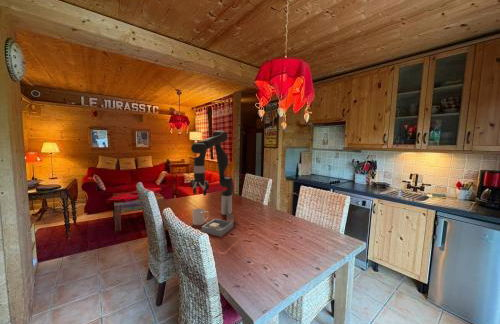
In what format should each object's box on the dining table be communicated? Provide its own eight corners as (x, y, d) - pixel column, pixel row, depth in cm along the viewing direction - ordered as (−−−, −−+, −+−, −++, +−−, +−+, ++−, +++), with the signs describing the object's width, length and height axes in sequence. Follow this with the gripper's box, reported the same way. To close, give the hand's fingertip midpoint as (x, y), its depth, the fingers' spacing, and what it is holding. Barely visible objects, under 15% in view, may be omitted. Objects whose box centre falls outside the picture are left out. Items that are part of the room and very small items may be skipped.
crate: (215, 224, 160) (215, 218, 159) (233, 228, 154) (233, 222, 153) (201, 233, 144) (201, 226, 144) (221, 238, 138) (221, 230, 138)
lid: (213, 223, 148) (213, 222, 148) (219, 224, 146) (219, 223, 146) (209, 225, 143) (209, 225, 143) (215, 227, 141) (215, 226, 141)
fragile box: (213, 229, 148) (213, 223, 148) (219, 231, 146) (219, 224, 146) (209, 232, 143) (209, 225, 143) (215, 234, 142) (215, 227, 141)
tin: (228, 223, 163) (229, 213, 162) (234, 224, 161) (234, 214, 160) (225, 225, 158) (225, 215, 158) (231, 227, 156) (231, 217, 155)
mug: (192, 226, 155) (192, 212, 154) (192, 222, 164) (192, 208, 163) (208, 225, 158) (208, 211, 157) (208, 221, 167) (208, 207, 166)
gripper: (211, 171, 144) (211, 194, 145) (194, 170, 149) (195, 192, 151) (204, 173, 137) (204, 197, 138) (187, 171, 142) (188, 194, 144)
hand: (199, 194), depth 145 cm, fingers open, 8 cm apart
